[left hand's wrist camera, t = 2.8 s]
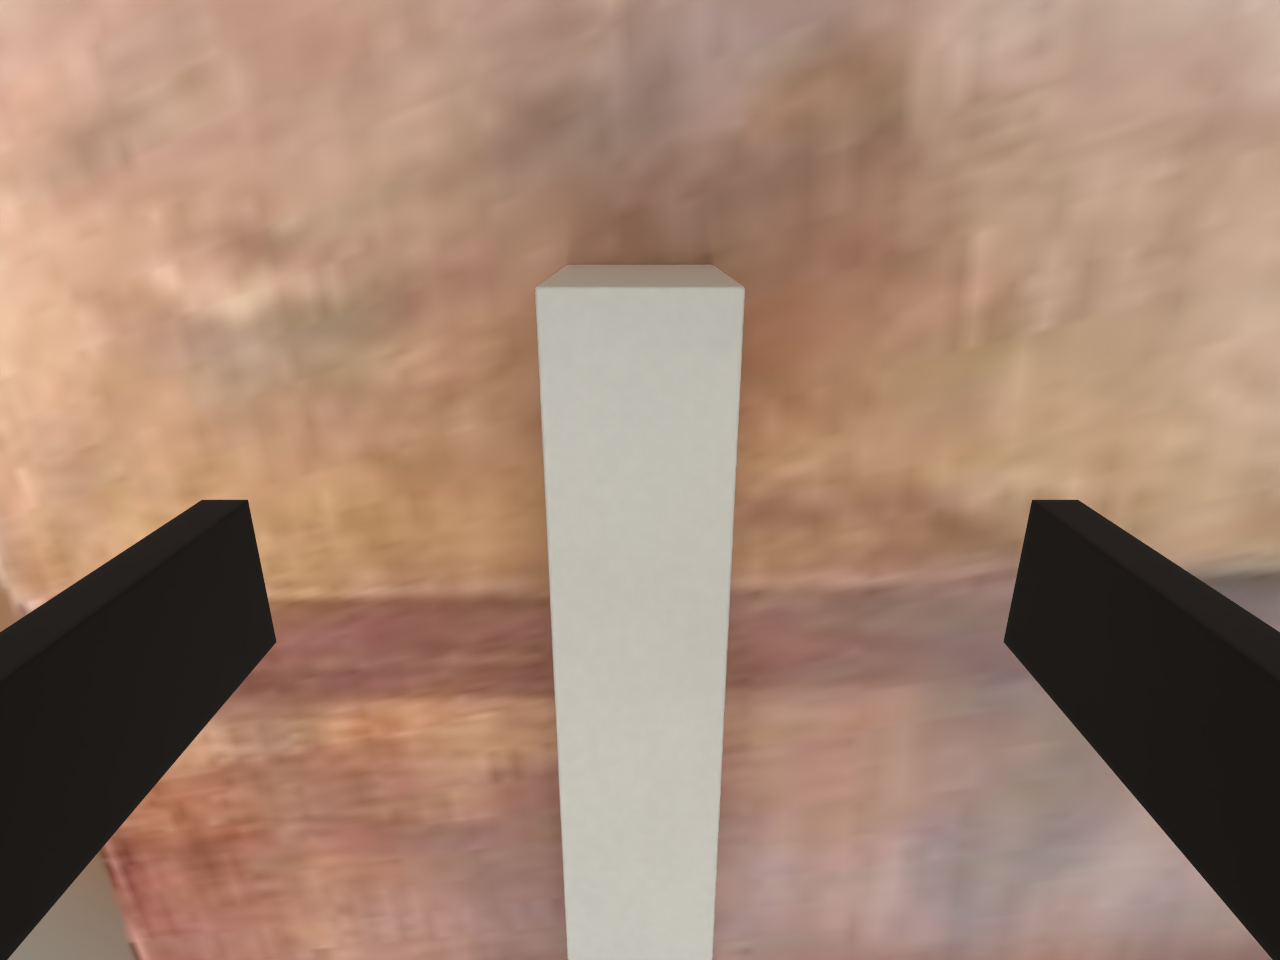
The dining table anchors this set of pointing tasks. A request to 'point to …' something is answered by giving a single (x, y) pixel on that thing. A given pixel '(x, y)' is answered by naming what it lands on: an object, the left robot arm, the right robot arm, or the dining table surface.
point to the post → (639, 592)
